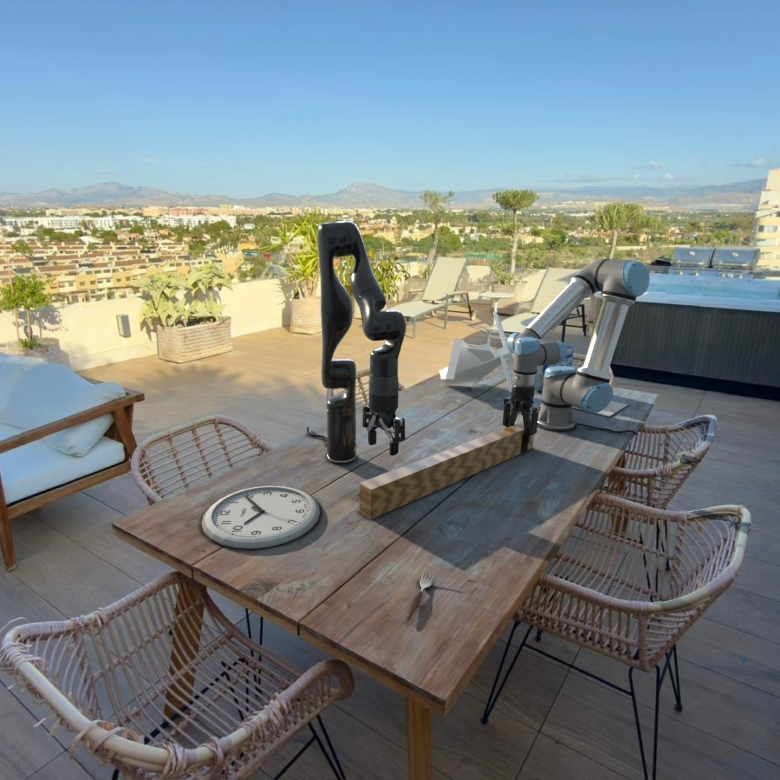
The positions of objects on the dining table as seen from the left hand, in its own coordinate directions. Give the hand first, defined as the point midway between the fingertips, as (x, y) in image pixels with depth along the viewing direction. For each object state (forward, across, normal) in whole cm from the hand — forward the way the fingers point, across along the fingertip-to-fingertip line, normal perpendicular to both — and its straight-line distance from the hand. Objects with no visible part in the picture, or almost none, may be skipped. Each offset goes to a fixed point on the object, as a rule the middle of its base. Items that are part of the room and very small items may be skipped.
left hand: (382, 449), depth 136 cm
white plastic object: (+17, -51, +103) cm, 116 cm away
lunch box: (+17, -34, +134) cm, 140 cm away
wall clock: (+17, -17, -27) cm, 36 cm away
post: (+17, 0, +31) cm, 35 cm away
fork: (+18, +32, -17) cm, 40 cm away
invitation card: (+17, -5, +129) cm, 130 cm away
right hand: (+17, 0, +61) cm, 63 cm away
